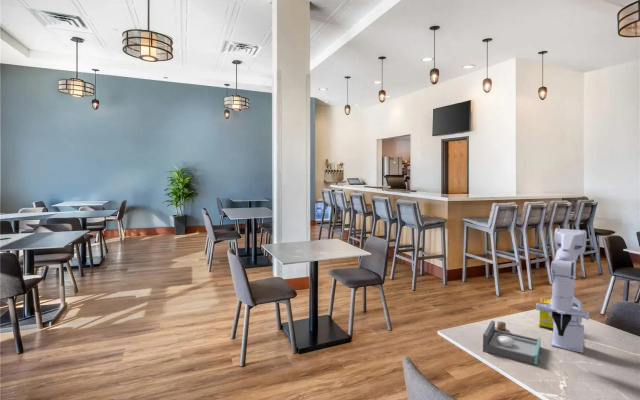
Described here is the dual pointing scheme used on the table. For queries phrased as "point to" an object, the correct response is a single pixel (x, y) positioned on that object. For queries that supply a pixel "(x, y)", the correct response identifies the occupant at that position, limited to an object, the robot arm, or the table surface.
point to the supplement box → (545, 316)
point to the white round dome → (505, 341)
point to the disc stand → (501, 327)
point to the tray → (520, 345)
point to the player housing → (502, 351)
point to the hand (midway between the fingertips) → (560, 334)
